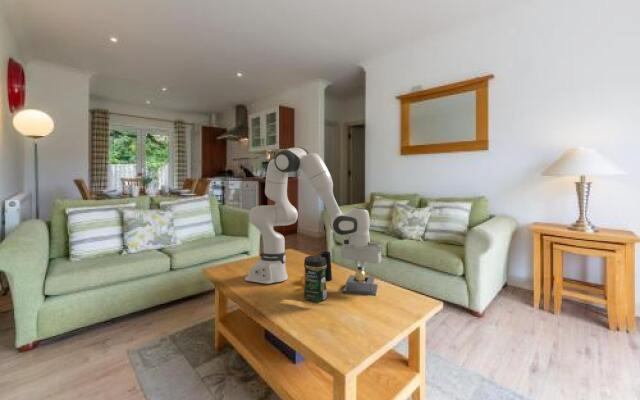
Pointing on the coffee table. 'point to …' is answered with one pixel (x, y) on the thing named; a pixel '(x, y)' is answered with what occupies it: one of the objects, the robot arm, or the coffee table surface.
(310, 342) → the coffee table surface
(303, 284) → the pipe clamp
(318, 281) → the coffee jar
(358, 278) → the tan cylinder
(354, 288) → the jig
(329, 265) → the pipe connector
